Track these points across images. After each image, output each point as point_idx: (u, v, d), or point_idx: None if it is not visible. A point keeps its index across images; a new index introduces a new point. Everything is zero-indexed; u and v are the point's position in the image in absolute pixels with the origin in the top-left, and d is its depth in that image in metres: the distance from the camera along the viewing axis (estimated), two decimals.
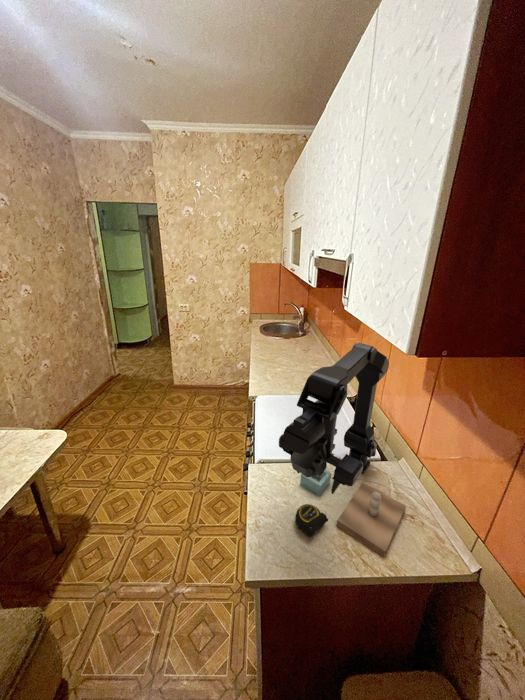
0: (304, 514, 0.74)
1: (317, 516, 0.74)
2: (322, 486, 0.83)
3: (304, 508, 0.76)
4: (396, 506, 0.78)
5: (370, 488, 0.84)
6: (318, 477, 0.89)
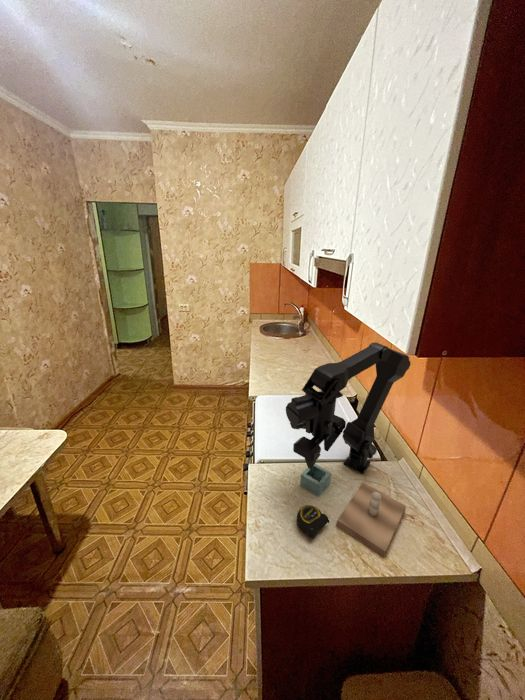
0: (305, 515, 0.74)
1: (318, 517, 0.74)
2: (322, 486, 0.83)
3: (305, 509, 0.75)
4: (396, 506, 0.78)
5: (370, 488, 0.84)
6: (318, 477, 0.89)
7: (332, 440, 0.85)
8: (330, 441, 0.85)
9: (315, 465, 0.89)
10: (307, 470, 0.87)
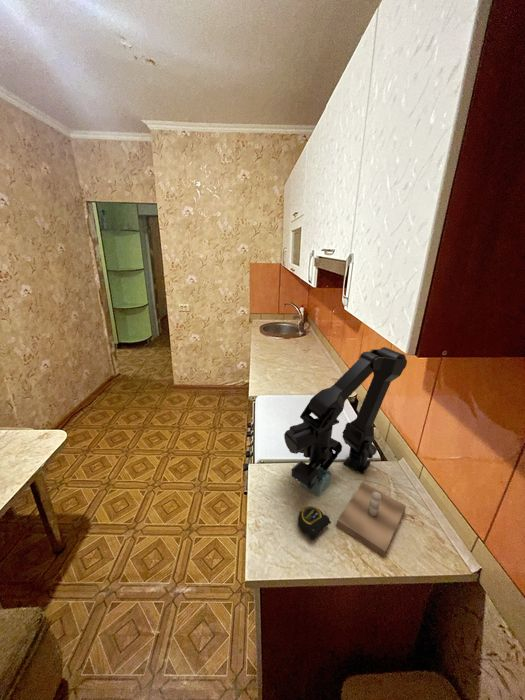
0: (307, 516, 0.74)
1: (320, 518, 0.73)
2: (322, 486, 0.83)
3: (307, 510, 0.75)
4: (396, 506, 0.78)
5: (370, 488, 0.84)
6: None
7: (326, 465, 0.87)
8: (325, 466, 0.88)
9: None
10: None
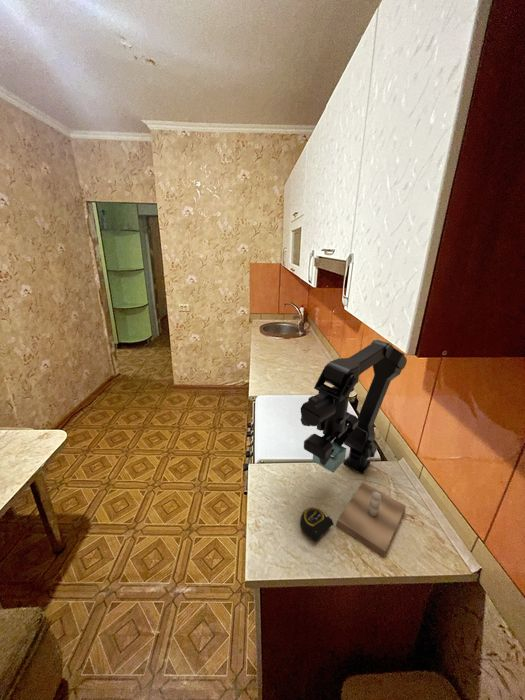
0: (309, 518, 0.73)
1: (322, 519, 0.73)
2: (336, 461, 0.77)
3: (309, 511, 0.75)
4: (396, 506, 0.78)
5: (370, 488, 0.84)
6: (332, 453, 0.83)
7: (341, 440, 0.81)
8: (339, 442, 0.82)
9: None
10: None
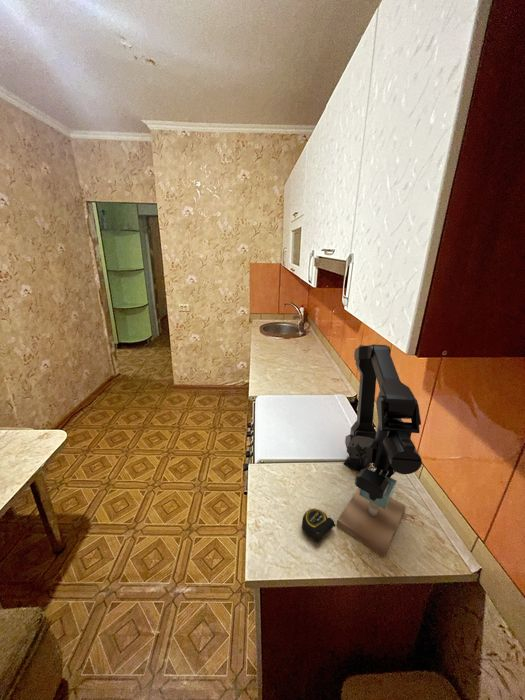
0: (311, 519, 0.73)
1: (324, 520, 0.73)
2: (388, 497, 0.70)
3: (311, 513, 0.74)
4: (396, 506, 0.78)
5: None
6: None
7: (390, 472, 0.74)
8: (388, 473, 0.74)
9: None
10: None
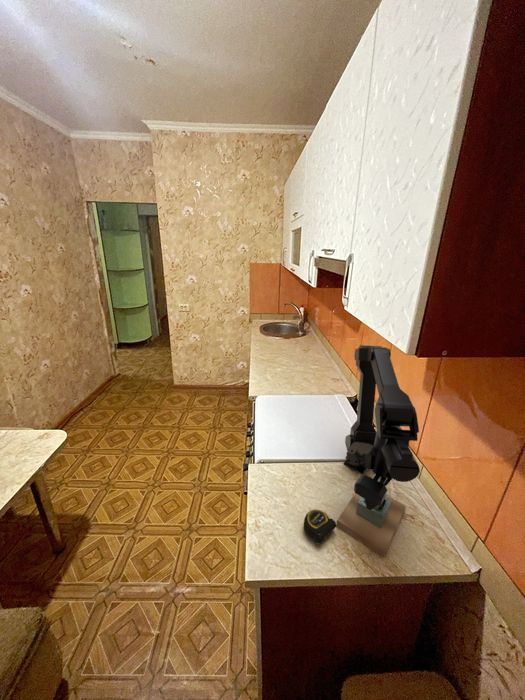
0: (313, 520, 0.73)
1: (326, 521, 0.72)
2: (384, 516, 0.72)
3: (312, 514, 0.74)
4: (396, 506, 0.78)
5: None
6: None
7: None
8: None
9: None
10: None
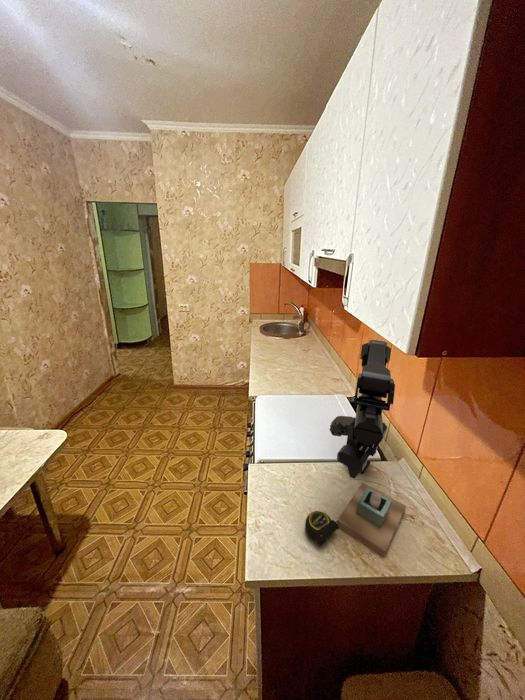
0: (314, 521, 0.72)
1: (328, 523, 0.72)
2: (384, 516, 0.72)
3: (314, 515, 0.74)
4: (396, 506, 0.78)
5: None
6: None
7: (372, 446, 0.79)
8: (370, 448, 0.80)
9: (371, 490, 0.78)
10: (364, 497, 0.76)
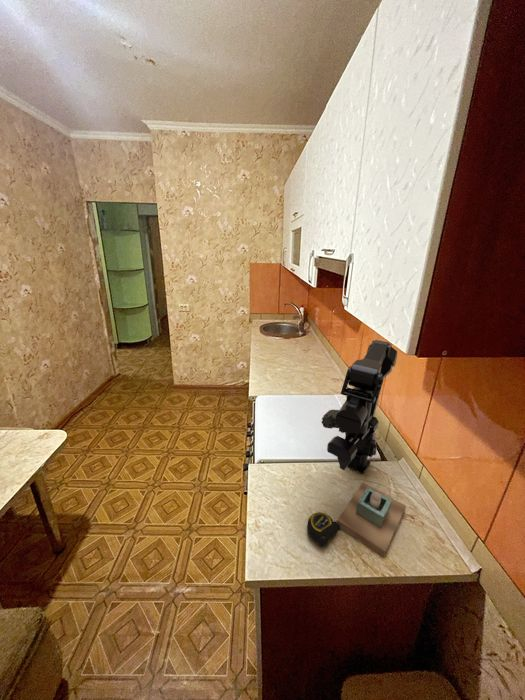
0: (316, 523, 0.72)
1: (330, 524, 0.72)
2: (384, 516, 0.72)
3: (316, 516, 0.73)
4: (396, 506, 0.78)
5: None
6: None
7: (364, 440, 0.81)
8: (362, 441, 0.82)
9: (371, 490, 0.78)
10: (364, 497, 0.76)
